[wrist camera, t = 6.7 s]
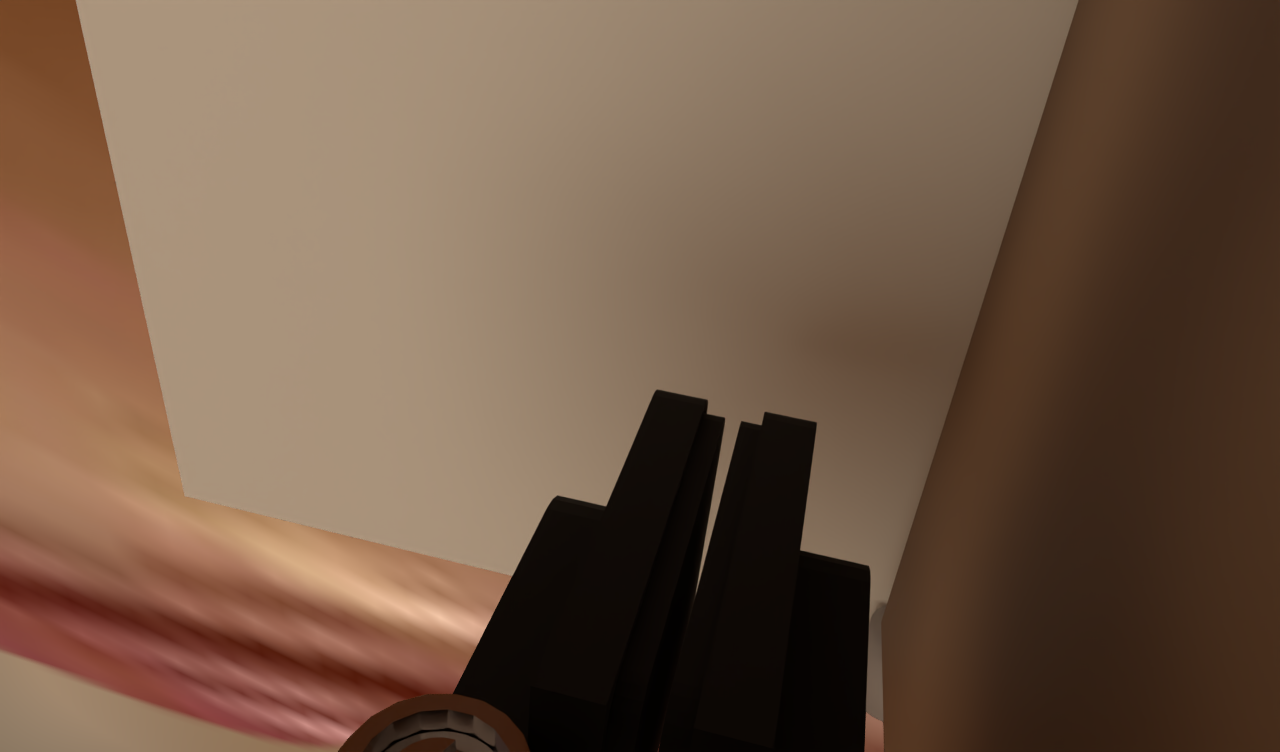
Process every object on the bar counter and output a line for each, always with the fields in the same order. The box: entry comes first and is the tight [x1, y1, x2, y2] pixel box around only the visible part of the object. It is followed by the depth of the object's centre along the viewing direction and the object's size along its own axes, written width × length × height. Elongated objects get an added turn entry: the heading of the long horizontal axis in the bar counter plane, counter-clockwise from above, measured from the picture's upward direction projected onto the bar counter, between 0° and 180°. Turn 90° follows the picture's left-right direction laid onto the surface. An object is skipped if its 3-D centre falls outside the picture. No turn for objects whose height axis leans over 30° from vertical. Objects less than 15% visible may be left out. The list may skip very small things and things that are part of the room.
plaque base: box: [76, 0, 1078, 721], centre depth 14 cm, size 30×16×2 cm, turn 85°
